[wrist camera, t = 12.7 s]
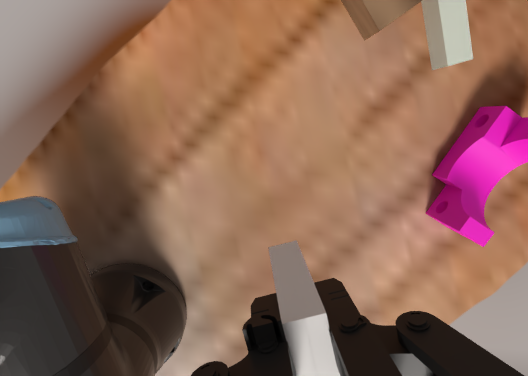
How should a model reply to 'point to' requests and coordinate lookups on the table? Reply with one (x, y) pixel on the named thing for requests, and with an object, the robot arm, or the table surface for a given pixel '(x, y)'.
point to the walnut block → (376, 13)
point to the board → (447, 32)
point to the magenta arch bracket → (478, 169)
